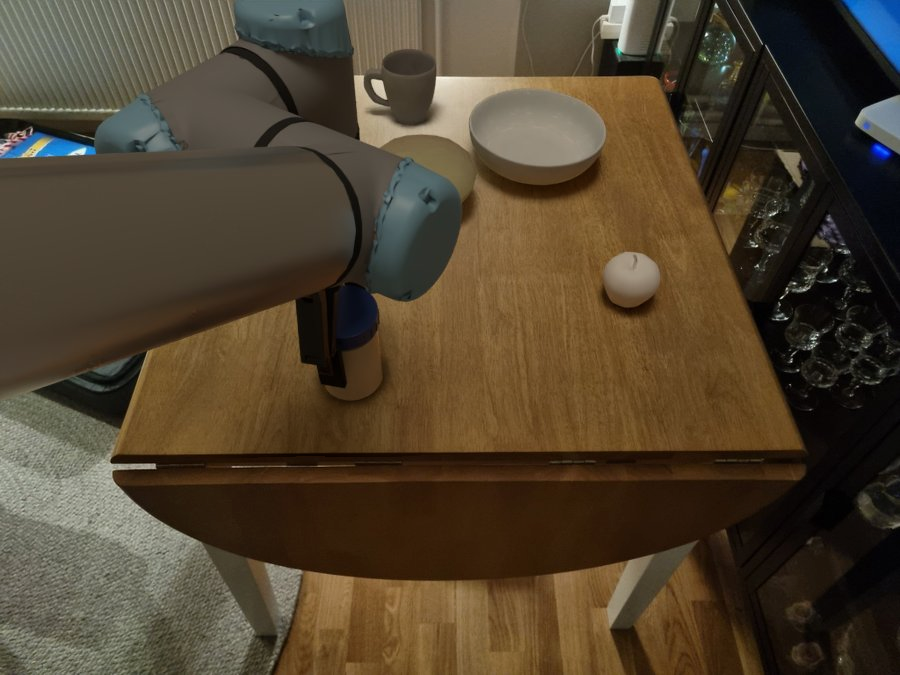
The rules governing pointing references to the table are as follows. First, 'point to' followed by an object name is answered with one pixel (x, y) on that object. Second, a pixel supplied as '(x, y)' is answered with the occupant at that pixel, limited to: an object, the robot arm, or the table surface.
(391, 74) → the mug
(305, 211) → the robot arm
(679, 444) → the table surface
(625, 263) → the apple
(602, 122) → the serving bowl
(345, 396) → the jar
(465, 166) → the flask
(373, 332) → the jar lid
